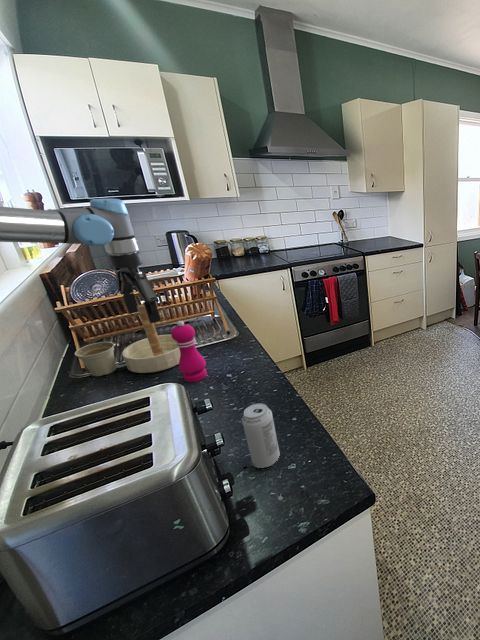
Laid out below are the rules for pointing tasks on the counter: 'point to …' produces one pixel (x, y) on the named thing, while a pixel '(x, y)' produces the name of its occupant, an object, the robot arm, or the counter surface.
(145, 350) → the bowl
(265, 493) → the counter surface
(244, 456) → the counter surface
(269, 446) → the energy drink can
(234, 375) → the counter surface
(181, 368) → the pepper mill
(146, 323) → the stick
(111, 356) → the flower pot
